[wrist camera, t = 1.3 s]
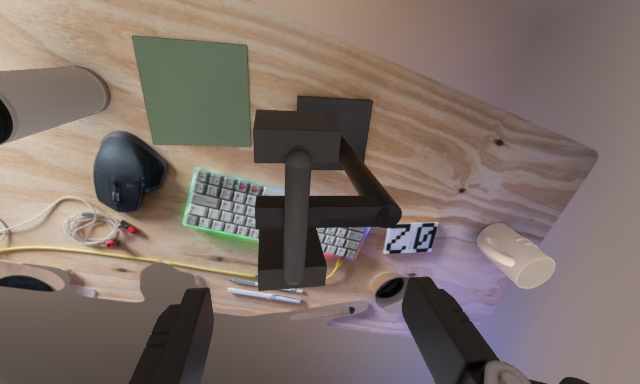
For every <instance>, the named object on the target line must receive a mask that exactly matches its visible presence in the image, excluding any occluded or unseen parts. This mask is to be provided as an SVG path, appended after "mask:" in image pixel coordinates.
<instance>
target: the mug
mask: <svg viewBox="0 0 640 384" xmlns="http://www.w3.org/2000/svg"><path fill="white" fill-rule="evenodd" d="M476 243H477V247H478V248H479V249H480V250H481V251H482V252H483V253H484V254H485V255H486V256H487V257H488V258H489V259H490V260H491V261H492V262H493V263H494V264H495V265H496V266H497V267H498V268H499V269H500V270H501V271H502V272H504V273H505V274H506V275H507V276H508V277H509V278H510V279H511V280H512V281H513V282H514V283H515V284H516V285H517V286H518V287H520V288H523V289H531V288H534V287H537V286H539V285H541V284H543V283H544V282H545V281H547V280H548V279H549V278H550V277H551V275H552V274H553V272H554V270H555V262H554V261H553V259H552V258H550V257H549V256H547V255H546V254H545V253H544V252H542V251H541V250H539V248H538V247H537V246H536V245H535V244H534V243H532V242H530V240H528V239H527V238H524V237H522V236H521V235H519V234H518V233H517V232H515V231H514V230H512V229H511V228H510V227H508V226H507V225H506V224H503V223H494V224H491V225H489V226H487V227H486V228H484V229H483V230H482V231H481V232H480V234H479V235H478V237H477V241H476Z"/></svg>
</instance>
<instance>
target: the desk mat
mask: <svg viewBox="0 0 640 384" xmlns="http://www.w3.org/2000/svg"><path fill="white" fill-rule="evenodd" d="M132 40H133V45H134V50H135V55H136V60H137V65H138V70H139V75H140V80H141V85H142V90H143V95H144V100H145V105H146V110H147V115H148V120H149V125H150V130H151V135H152V140H153V144H154V145H193V146H232V147H251V131H250V106H249V81H248V56H247V45H238V44H226V43H214V42H202V41H190V40H178V39H166V38H154V37H142V36H132Z"/></svg>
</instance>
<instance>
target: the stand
mask: <svg viewBox="0 0 640 384" xmlns="http://www.w3.org/2000/svg"><path fill="white" fill-rule="evenodd" d="M372 104H373V101H371V100H365V99H347V98H329V97H311V96H298V102H297V111H300V112H322V113H324V114H325V115H326V116H327V117H328V118H329V119H330V120H331V121H332V122H333V123H334V124H335V125H336V126H337V127H338V128H339V129H340V131H341V132H342V134H341V143H340V152H339V161H338V164H317V163H311V170H345V172H346V174H347V175H348V177H349V179H350V180H351V182H352V184H353V186H354V187H355V189H356V191H357V192H358V194H359V196H309V210H308V226H307V228H333V227H381V228H390V227H393V226H395V225H396V224H397V223H398V222H399V221H400V219H401V216H402V211H401V209H400V207H399V206H398V205H397V204H396V202H395V201H394V200H393V199H392V197H391V196H390V195H389V194H388V193H387V191H386V190H385V189H384V188H383V186H382V185H381V184H380V183H379V181H378V180H377V179H376V178H375V176H374V175H373V174H372V173H371V171H370V170H369V169H368V168H367V166H366V165H365V164H364V158H365V151H366V144H367V138H368V131H369V124H370V117H371V111H372ZM284 208H285V196H257V197H256V204H255V220H256V229H284Z"/></svg>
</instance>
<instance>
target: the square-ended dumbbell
mask: <svg viewBox="0 0 640 384" xmlns="http://www.w3.org/2000/svg"><path fill="white" fill-rule="evenodd" d="M341 134H342V132H341V131H340V129H339V128H338V127H337V126H336V125H335V124H334V123H333V122H332V121H331V120H330V119H329V118H328V117H327V116H326V115H325V114H324V113H322V112H300V111H277V110H256V116H255V122H254V128H253V136H254V162H255V163H285V208H284V229H259V252H258V290H259V291H265V290H278V289H291V288H304V287H317V286H325V280H326V271H327V264H326V261H325V258H324V254H323V251H322V247H321V244H320V240H319V237H318V233H317V230H316V228H307V226H308V210H309V195H310V179H311V163H317V164H338V161H339V152H340V143H341Z"/></svg>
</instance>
